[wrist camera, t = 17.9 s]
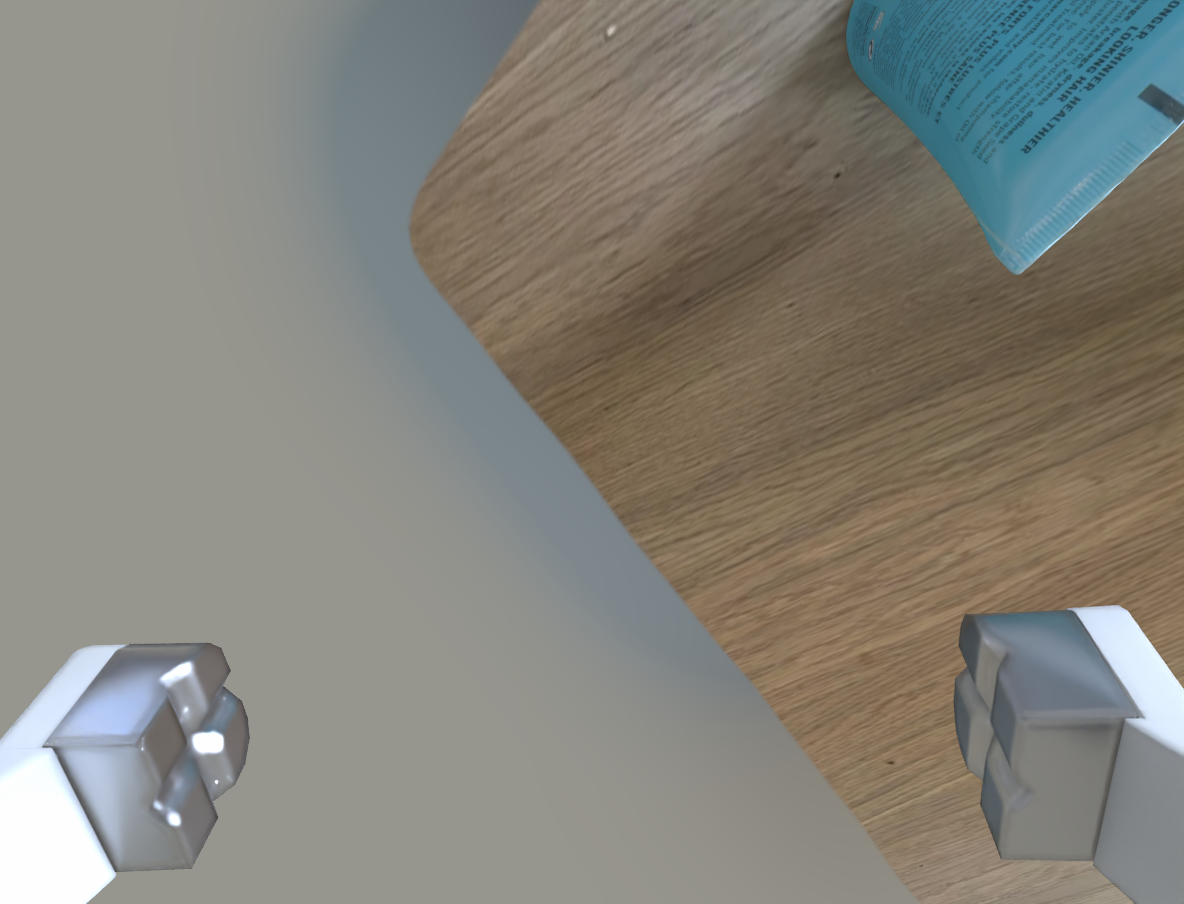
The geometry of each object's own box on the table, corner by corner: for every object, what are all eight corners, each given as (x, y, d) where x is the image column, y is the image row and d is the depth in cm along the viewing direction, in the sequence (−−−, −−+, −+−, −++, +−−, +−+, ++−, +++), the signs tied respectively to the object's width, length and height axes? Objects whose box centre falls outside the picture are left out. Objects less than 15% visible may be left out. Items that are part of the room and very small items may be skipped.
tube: (900, 155, 35) (1116, 348, 18) (795, 79, 34) (918, 206, 17) (1049, -36, 32) (1486, -22, 15) (939, -126, 31) (1268, -222, 14)
